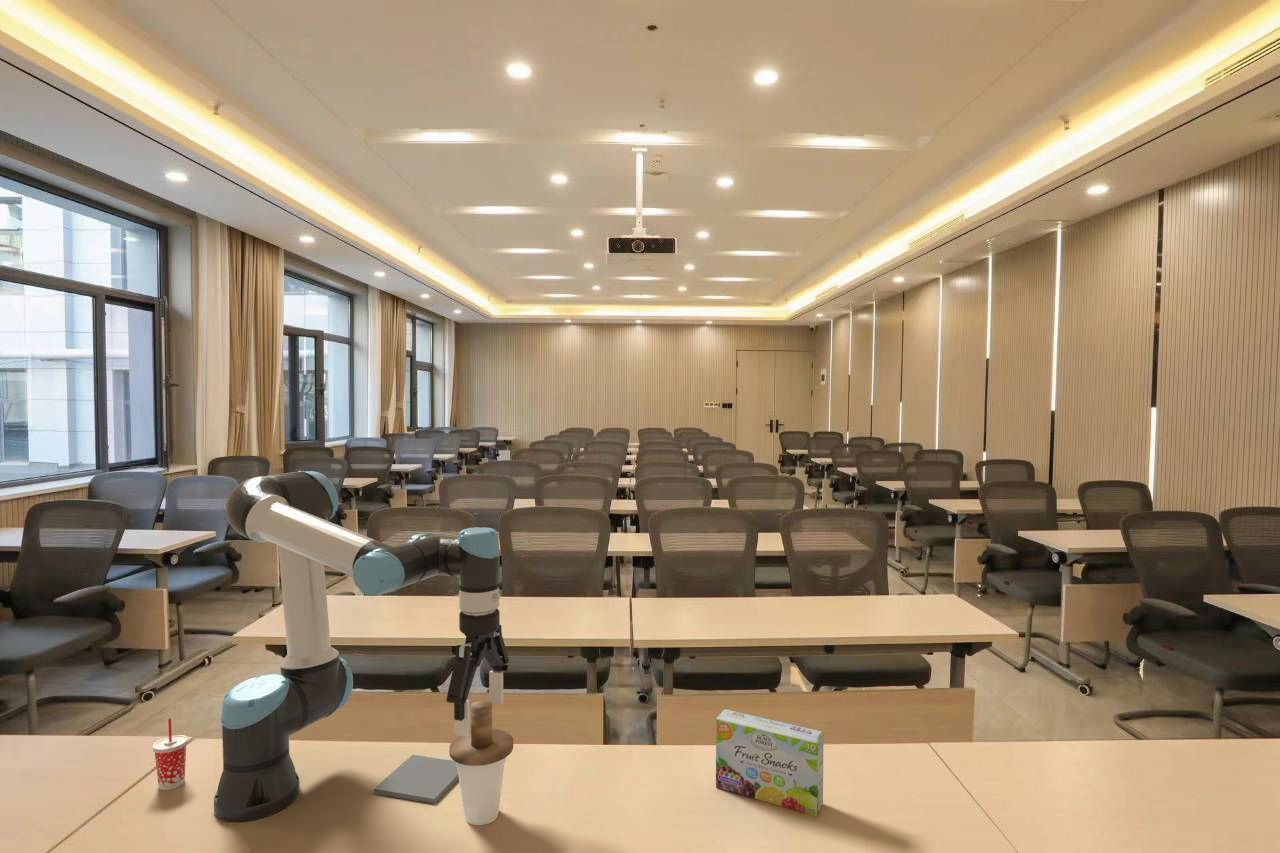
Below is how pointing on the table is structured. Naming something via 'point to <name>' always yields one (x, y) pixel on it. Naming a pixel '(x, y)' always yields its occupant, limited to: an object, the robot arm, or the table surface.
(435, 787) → the mat
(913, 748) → the table surface
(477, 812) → the foam cup
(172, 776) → the beverage cup
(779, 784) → the snack box
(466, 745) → the lid
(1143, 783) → the table surface
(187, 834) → the table surface
